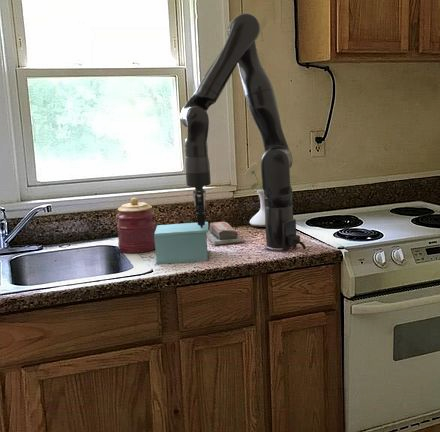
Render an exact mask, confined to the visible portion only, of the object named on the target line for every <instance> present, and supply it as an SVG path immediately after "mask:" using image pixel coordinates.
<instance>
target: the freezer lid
mask: <svg viewBox="0 0 440 432" xmlns="http://www.w3.org/2000/svg"><path fill="white" fill-rule="evenodd" d="M208 231H209V221H205V225H202V226H199V225H198V222H184V223H172V224H171V223H170V224H158V225H156V230H155V233H154V236H165V235H179V234H194V233H208Z"/></svg>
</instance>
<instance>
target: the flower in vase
mask: <svg viewBox="0 0 440 432" xmlns="http://www.w3.org/2000/svg"><path fill="white" fill-rule="evenodd" d="M259 167H260V165H259V163H258V162H257V161H254V163H253V162H252V163H251V164H250V165H249V167H247V168H246V172H245V173H244V174H243V177H244V179H245V180H247V181H250V180H252V179H253V178H254V177H255V178H256V181H257V182H254V183H252V185H251V186H250V189H252V190H255V189H257V187H258V186H259V188H260V189H257V190H255V191H256V193H257V195H258V197H259V203H260V208H259V210H258V212H256V213H255V214H254V215H253V216H252V217H251V219H250V220H249V224H250V225H251V226H253V227H259V228H266V226H265V203H264V191H263V187H262V182H260V181H259V178H258V176H257V173H258V171H259Z"/></svg>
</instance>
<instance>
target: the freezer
mask: <svg viewBox="0 0 440 432" xmlns="http://www.w3.org/2000/svg"><path fill="white" fill-rule="evenodd" d="M154 237H155V249H154V250H155V260H156V261H155V262H156V265H163V264H176V263H177V264H179V263H192V262H195V263H196V262H206V261H208V240H207V238H208V237H207V235H206V233H194V234H179V235H165V236H154Z"/></svg>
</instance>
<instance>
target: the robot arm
mask: <svg viewBox="0 0 440 432" xmlns="http://www.w3.org/2000/svg"><path fill="white" fill-rule="evenodd" d="M260 33H261V26H260V22H259V20H258V18H257V17H256V16H255V15H253V14H251V13H247V12H246V13H241V14H238V15H236V16H235V17H234V18H233V19H232V20H231V21H230V22H229V23H228V25H227V28H226V35H227V39H226V41H225V43H224V45H223V47H222V49H221V50H220V52H219V54H218V55H217V57H216V58H215V59H214V61H213V62H212V64H211V65H210V66H209V68H208V69H207V71H206V73H205V74H204V76H203V78H202V79H201V81H200V82H199V84H198V86H197V88H196V90H195V92H194V93H193V94H192V95H191V97H190V98H189V99H188V100H187V101H186V103H185V104H184V105H183V107H182V109H181V112H180V115H179V119H180V123H181V125H183V126H184V127H185V128H187V135H186V138H185V140H184V154H185V155H184V156H185V160H184V167H185V181H186V186H188V187H189V188H190V187H191V188H194V190H193V191H192V198H193V203H194V204H193V205H194V207H195V213H196V220H197V223H198V225H199V226H202V225H205V222H206V215H205V214H206V213H205V212H206V211H205V209H206V197H207V192H206V190H205V189H204V187H207V186H210V185H211V184H212V181H211V166H210V159H209V149H208V136H209V129H210V118H209V114H208V112H207V111H208V110H209V108H210V107H211V106H212V105H214V104H216V102H217V101H218V99H219V97H220V96H221V94H222V93H223V91H224V89H225V88H226V85H227V83H228V82H229V80H230V78H231V76H232V74H233V72H234V71H235V69H236V67H238V72H239V76H240V81H241V85H242V89H243V94H244V97H245V101H246V104H247V108H248V111H249V113H250V116H251V118H252V120H253V122H254V124H255V125H256V128H257V130H258V132H259V134H260V136H261V140H262V144H263V149H264V153H263V154H262V156H261V159H260V173H261V183H262V190H263V191H264V203H265V226H266V227H265V248H266V250H268V251H272V252H273V251H274V252H287V251H290V250H294V249H296V248H297V247H298V245H300V246H301V247H302V250H307V247H306V244H305V243H304V242H303V241H301V235H300V234H299V235H298V234H297V220H296V218H294V203H293V201H294V200H293V187H292V184H291V168H292V165H293V155H292V153H291V150H290V147H289V144H288V143H287V142H288V141H287V139H286V136H285V134H284V130H283V127H282V123H281V115H280V112H279V106H278V103H277V98H276V94H275V90H274V86H273V84H272V81H271V80H270V77H269V76H268V74H267V72H266V70H265V68H264V66H263V65H262V62H261V61H260V60H261V59H260V58H259V53H258V48H257V44H256V40H257V39H258V37H259V35H260Z"/></svg>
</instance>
